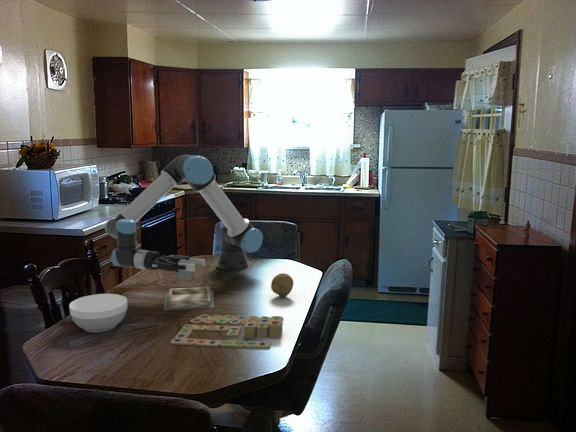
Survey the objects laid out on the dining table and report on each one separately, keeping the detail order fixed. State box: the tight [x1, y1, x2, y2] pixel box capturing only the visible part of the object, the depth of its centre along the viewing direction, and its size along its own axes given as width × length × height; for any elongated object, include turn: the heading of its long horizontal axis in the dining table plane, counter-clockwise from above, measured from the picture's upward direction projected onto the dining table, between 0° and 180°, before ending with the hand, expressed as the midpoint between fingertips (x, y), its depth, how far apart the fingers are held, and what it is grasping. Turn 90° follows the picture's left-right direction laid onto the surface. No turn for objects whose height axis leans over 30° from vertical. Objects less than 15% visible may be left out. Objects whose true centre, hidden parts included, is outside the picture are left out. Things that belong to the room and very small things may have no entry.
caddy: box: [168, 286, 211, 308], centre depth 208 cm, size 16×16×2 cm
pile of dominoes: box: [170, 314, 284, 350], centre depth 178 cm, size 35×27×6 cm
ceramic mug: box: [175, 259, 203, 281], centre depth 207 cm, size 11×8×8 cm
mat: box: [163, 290, 215, 311], centre depth 208 cm, size 19×20×1 cm
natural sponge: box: [270, 272, 294, 298], centre depth 212 cm, size 9×9×10 cm
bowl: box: [68, 293, 128, 333], centre depth 180 cm, size 19×19×9 cm
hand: (199, 265), depth 204 cm, fingers closed on ceramic mug, 8 cm apart
